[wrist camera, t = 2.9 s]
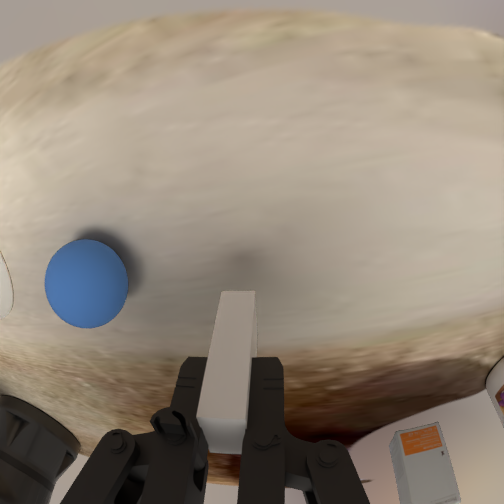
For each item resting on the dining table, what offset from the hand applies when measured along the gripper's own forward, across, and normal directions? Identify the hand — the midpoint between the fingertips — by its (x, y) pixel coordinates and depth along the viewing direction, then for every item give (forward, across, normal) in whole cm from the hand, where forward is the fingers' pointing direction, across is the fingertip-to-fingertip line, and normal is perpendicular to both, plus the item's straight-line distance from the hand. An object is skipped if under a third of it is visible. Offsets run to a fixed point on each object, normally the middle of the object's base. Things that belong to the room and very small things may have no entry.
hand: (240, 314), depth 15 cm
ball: (+3, +10, 0) cm, 10 cm away
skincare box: (+6, -19, +26) cm, 33 cm away
